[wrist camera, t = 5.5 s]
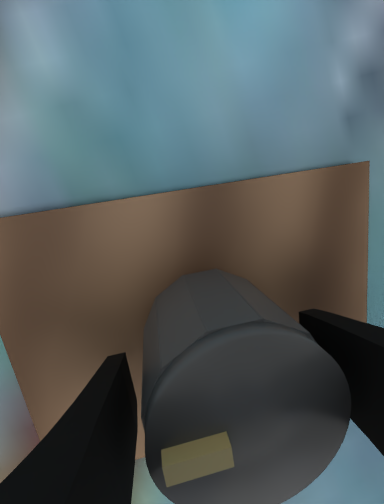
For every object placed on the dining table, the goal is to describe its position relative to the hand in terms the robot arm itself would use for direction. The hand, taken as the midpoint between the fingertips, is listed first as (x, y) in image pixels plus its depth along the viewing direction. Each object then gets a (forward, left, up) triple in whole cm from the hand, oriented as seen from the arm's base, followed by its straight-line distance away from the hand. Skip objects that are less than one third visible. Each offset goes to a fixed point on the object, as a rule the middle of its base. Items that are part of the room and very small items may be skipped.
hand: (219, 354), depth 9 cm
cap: (0, 0, -2) cm, 2 cm away
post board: (0, 0, -3) cm, 3 cm away
